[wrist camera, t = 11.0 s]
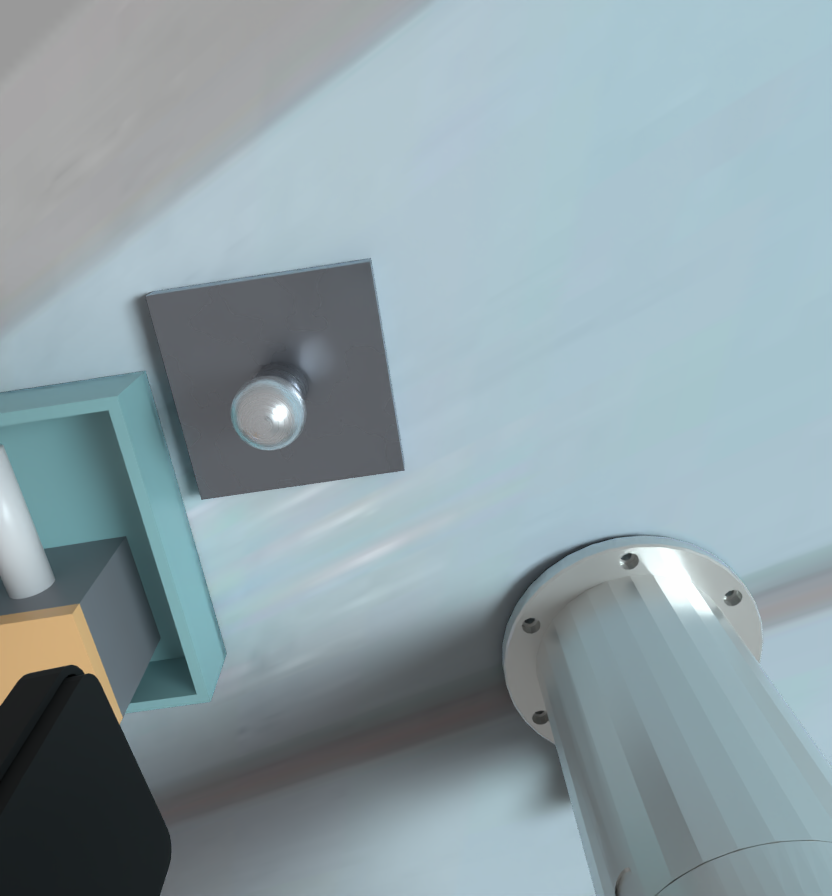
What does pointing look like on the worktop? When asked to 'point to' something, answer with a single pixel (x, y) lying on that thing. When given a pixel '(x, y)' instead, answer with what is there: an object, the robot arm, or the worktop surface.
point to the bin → (119, 513)
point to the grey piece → (280, 378)
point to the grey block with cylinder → (69, 605)
